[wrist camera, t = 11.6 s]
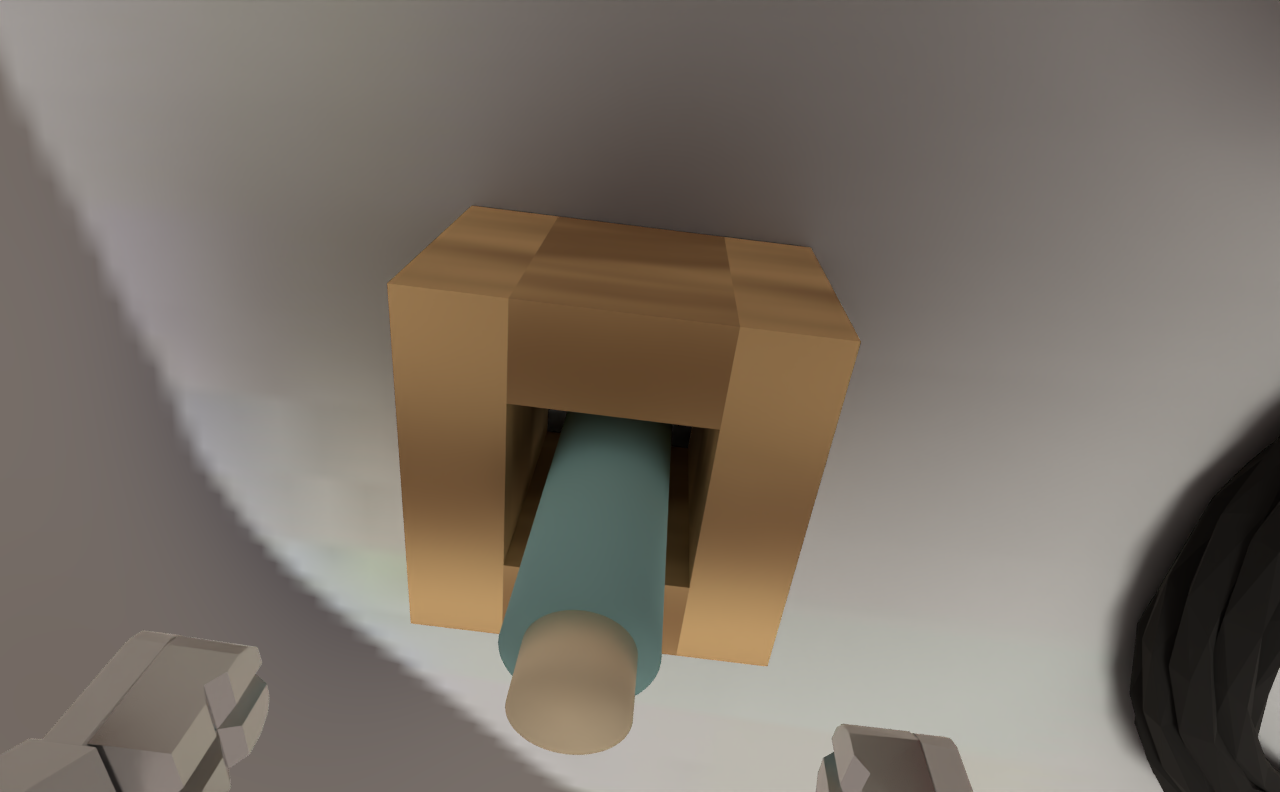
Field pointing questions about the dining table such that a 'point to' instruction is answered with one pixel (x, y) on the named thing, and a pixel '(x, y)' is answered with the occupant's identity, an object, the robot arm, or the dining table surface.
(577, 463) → the teal peg
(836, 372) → the wooden square frame
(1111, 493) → the dining table surface
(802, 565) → the dining table surface
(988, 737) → the dining table surface
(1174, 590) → the cable lock
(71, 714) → the robot arm
